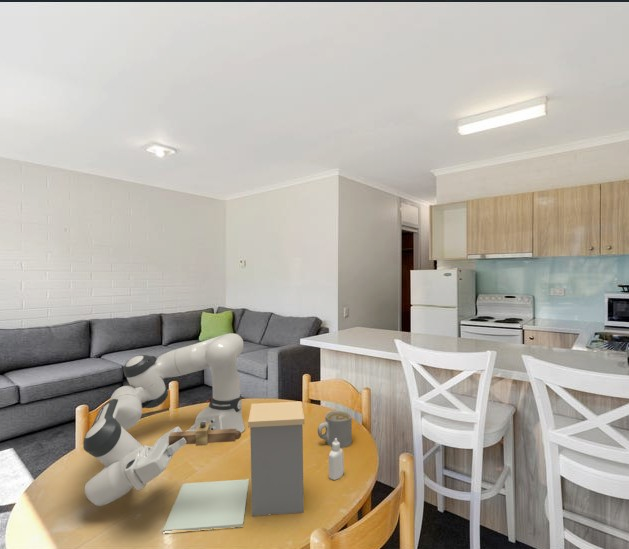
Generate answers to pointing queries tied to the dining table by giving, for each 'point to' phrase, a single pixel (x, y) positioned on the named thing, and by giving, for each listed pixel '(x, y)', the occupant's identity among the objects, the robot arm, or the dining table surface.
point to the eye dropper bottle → (336, 461)
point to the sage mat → (209, 505)
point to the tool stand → (276, 458)
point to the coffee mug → (337, 428)
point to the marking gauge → (205, 435)
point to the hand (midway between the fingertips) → (187, 436)
